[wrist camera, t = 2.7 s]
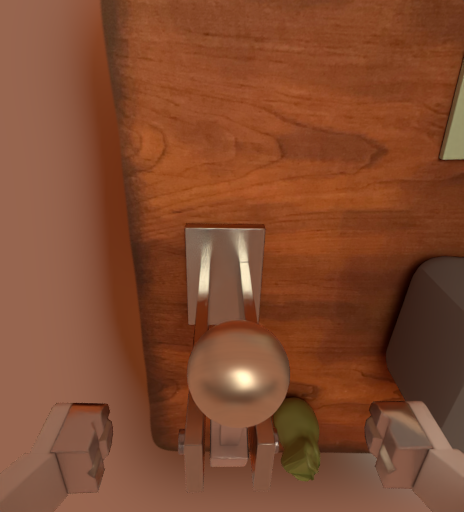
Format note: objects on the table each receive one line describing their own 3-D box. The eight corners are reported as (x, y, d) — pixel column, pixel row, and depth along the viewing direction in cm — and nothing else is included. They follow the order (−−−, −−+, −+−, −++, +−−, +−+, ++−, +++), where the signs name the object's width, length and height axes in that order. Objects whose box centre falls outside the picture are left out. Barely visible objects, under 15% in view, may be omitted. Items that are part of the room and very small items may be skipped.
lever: (187, 301, 13) (179, 412, 10) (291, 301, 13) (306, 411, 11) (200, 415, 25) (198, 478, 22) (254, 415, 25) (257, 477, 23)
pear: (289, 422, 52) (304, 496, 43) (262, 405, 50) (271, 479, 41) (318, 400, 50) (340, 473, 41) (291, 382, 48) (307, 454, 39)
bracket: (185, 223, 37) (150, 395, 18) (264, 224, 38) (312, 394, 18) (189, 318, 43) (164, 528, 24) (257, 318, 43) (288, 525, 24)
